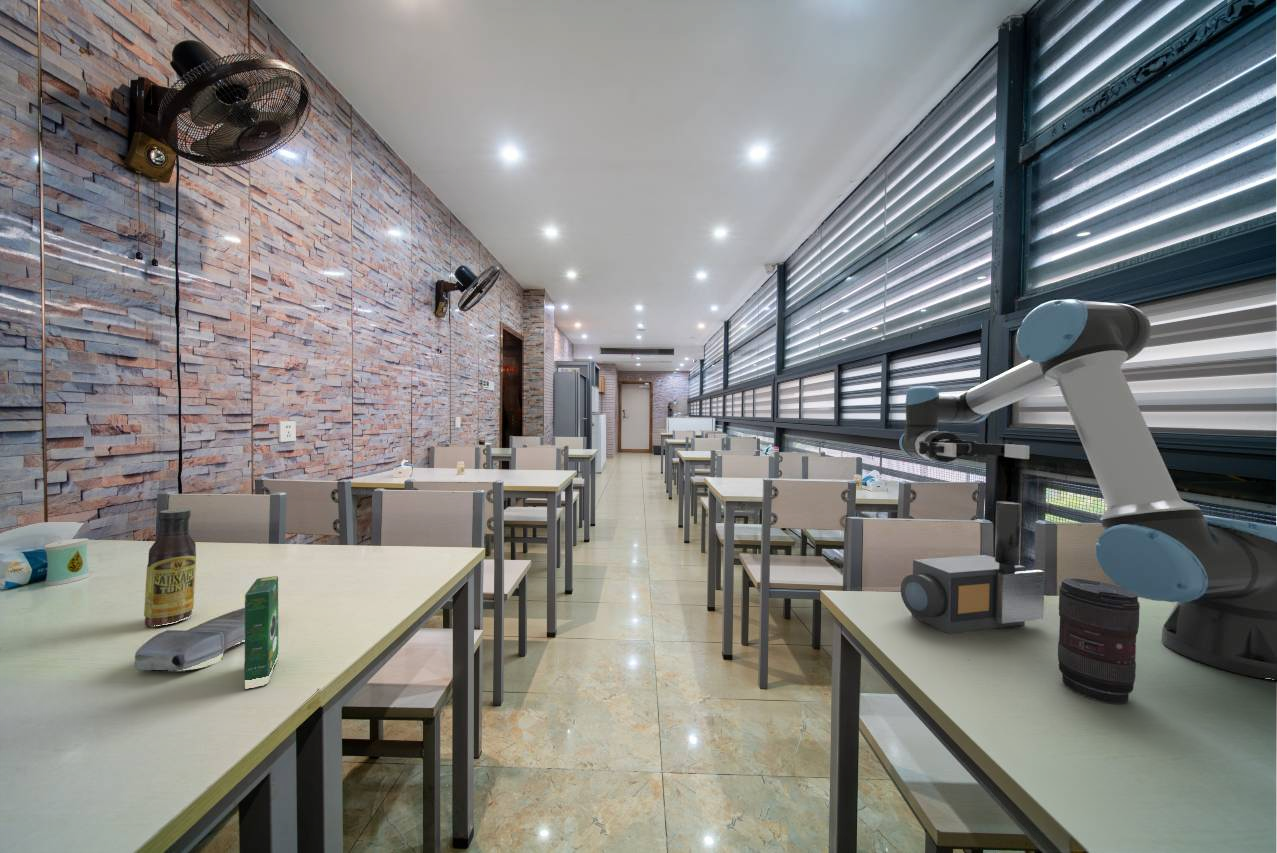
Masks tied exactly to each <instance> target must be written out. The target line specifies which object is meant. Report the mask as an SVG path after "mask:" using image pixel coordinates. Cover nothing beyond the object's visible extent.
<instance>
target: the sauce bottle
mask: <svg viewBox="0 0 1277 853" xmlns="http://www.w3.org/2000/svg"><path fill="white" fill-rule="evenodd" d="M190 518H191V509H189V508H172V509H164V510H160V511H159V512H158V518H157V519H158V521H159V531H158V537H157V538H156V540H155V542H154V543H152V545H151V547H150V548H149V550H148V557H147V558H148V561H147V566H146V575H145V576H146V577H145V590H144V594H145V595H144V610H143V611H144V612H143V616H144V625H145V626H146V625H147V626H146V627H148V626H154V625H155V626H156V625H162V624H167V623H172V622H176V621H179V620H181V619H184V618H186V617H189V616H190V615H191V616H192V614H193V610H194V607H195V606H194V605H195V604H194V602H195V589H196V588H195V587H196V567H197V549H196V548H197V546H196V541H194V539H193V538H192V537H191V535H190V528H189V524H190ZM191 616H190V617H191Z"/></svg>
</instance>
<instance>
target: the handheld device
mask: <svg viewBox="0 0 1277 853" xmlns="http://www.w3.org/2000/svg"><path fill="white" fill-rule="evenodd" d="M242 640H245V607H242V608H240V609H236V610H233V611H230V612H227V613H224V614H222V615H219V616H218V617H214V618H211V619H209V620H207V621H203V623H200V624H198V625H196V626H194V627H191V628H189V629H185V630H183V629H182V630H178V629H174V630H172V629H167V630H165V631H161V632H159V633H158V634H156V635H154V636H153V637H151V638H150V639H148V640H147V641H146V642H145V643H143V644H142V645H141V646H140V647H139V648H138V649H137V650H136V652H135V654H134V668H135V670H137V671H151V670H168V671H167V672H174V671H173V670H183V669H187V668H190V667H192V666H195V665H198V664H200V663H202V662H205V661H207V660H209V659H212V658H215V657H217V656H219V655H220V654H222V653H224V654H225V652H226V651H225V649H227V648H229V647H231V646H233V645H235V644H236V643H238V642H241V641H242Z"/></svg>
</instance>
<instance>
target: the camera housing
mask: <svg viewBox="0 0 1277 853" xmlns="http://www.w3.org/2000/svg"><path fill="white" fill-rule="evenodd" d="M1015 571H1027V566H1023V565H1021V564H1020V565H1017V566H1015ZM998 573H999V563H998V562H996V561H995V556H990V555H986V554H977V555H975V554H974V555H964V556H947V557H932V558H921V559H920V558H918V559H913V560H912V574H910V575H907V576H905V577H904V578H903V579H902V581H901V583H900V595H901V599H902V602H903V603H904V606H905V608H906V609H907V610H908V611H909V612H910V613H911V616H913V617H914V618H917V619H919V620H920V621H923V622H925V623H926V624H929V625H931V626H933V627H934V628H937V629H938V630H940V629H941V630H940V631H942V630H943V632H944V631H945V632H944V633H946V632H947V634H954V633H965V632H970V631H979V630H980V631H981V630H991V629H997V628H998V629H999V628H1006V627H1017V626H1024V625H1025V622H1026V621H1021V622H1012V623H1003V624H1002V623H999V622H997V621H996V618H997V582H998Z"/></svg>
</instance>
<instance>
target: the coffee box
mask: <svg viewBox="0 0 1277 853" xmlns="http://www.w3.org/2000/svg"><path fill="white" fill-rule="evenodd" d="M244 608H245V642H244V663H243V664H244V665H243V666H244V670H243V672H244V674H243V676H244V677H243V680H252V679H256V678H262V677H266V676H269V674H270V672H271V670H272V667H273V665H274V663H275V660H276V658H277V655H278V656H279V576H277V575H276V576H275V575H274V576H266V577H265V576H264V577H260V578H259V577H258V578H256V580H254V582H253V584H252V585H251V586H250V587H249V589H248V590H247V591H246V593H245V594H244Z"/></svg>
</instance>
